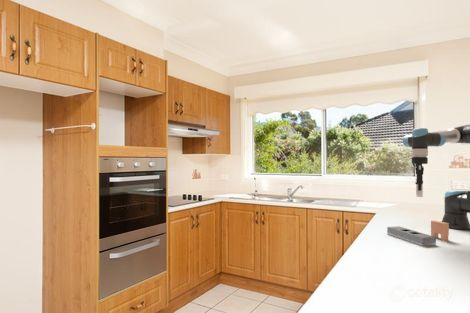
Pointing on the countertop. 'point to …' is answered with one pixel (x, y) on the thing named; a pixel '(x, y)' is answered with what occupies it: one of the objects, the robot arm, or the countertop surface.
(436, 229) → the tall peach block
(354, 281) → the countertop surface
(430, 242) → the rail
